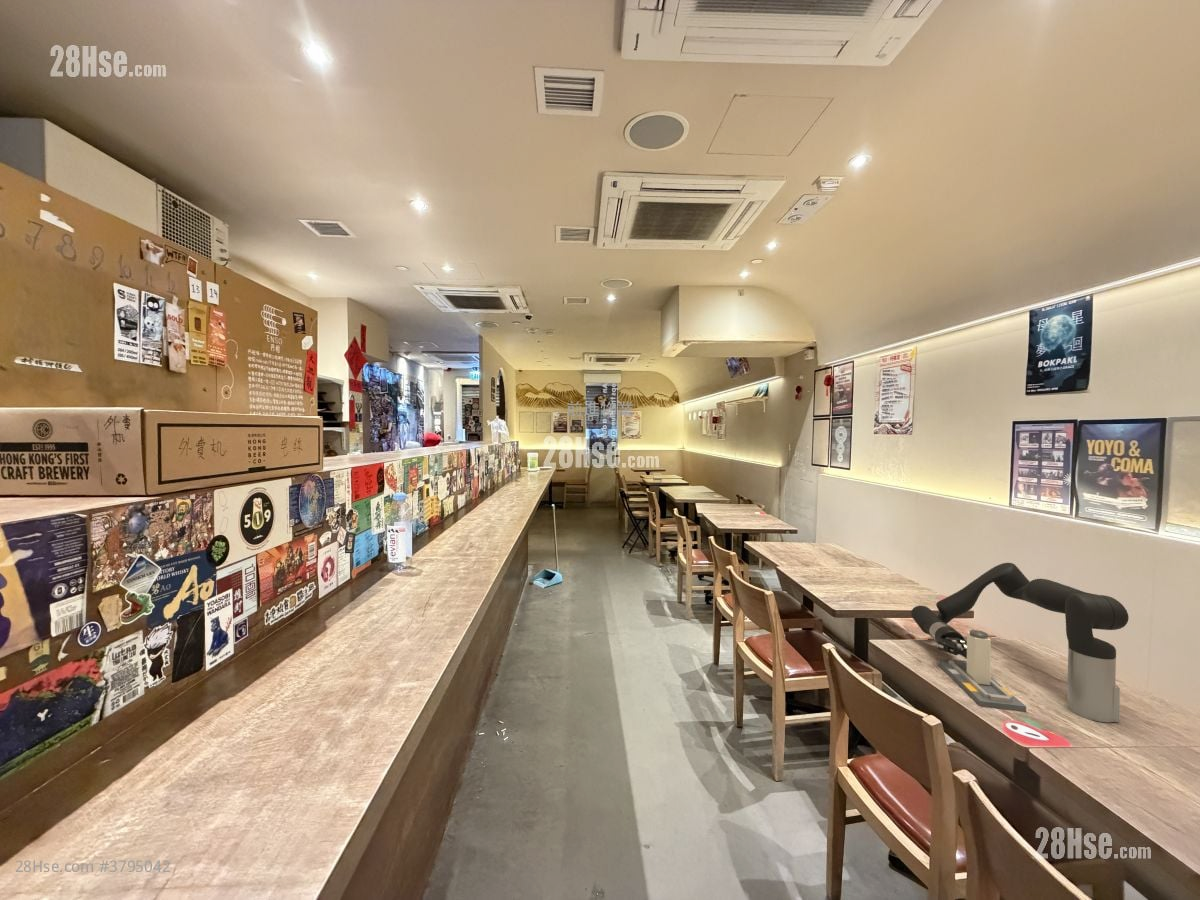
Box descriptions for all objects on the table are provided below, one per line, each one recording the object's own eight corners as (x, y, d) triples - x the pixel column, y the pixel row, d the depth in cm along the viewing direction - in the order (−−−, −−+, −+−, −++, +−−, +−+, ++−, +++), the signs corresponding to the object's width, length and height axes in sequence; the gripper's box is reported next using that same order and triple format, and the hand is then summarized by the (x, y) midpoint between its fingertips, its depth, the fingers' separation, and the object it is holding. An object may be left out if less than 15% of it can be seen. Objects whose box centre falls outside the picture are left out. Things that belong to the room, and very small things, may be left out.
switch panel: (938, 664, 159) (938, 656, 159) (976, 668, 157) (976, 660, 157) (980, 706, 134) (980, 697, 134) (1026, 711, 131) (1026, 702, 131)
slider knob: (965, 675, 148) (966, 629, 148) (981, 677, 147) (982, 630, 147) (974, 683, 143) (974, 635, 143) (991, 685, 142) (991, 636, 142)
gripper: (968, 649, 163) (997, 672, 146) (925, 645, 166) (948, 667, 149) (968, 627, 163) (997, 648, 146) (925, 624, 166) (948, 644, 149)
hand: (972, 658), depth 148 cm, fingers closed
